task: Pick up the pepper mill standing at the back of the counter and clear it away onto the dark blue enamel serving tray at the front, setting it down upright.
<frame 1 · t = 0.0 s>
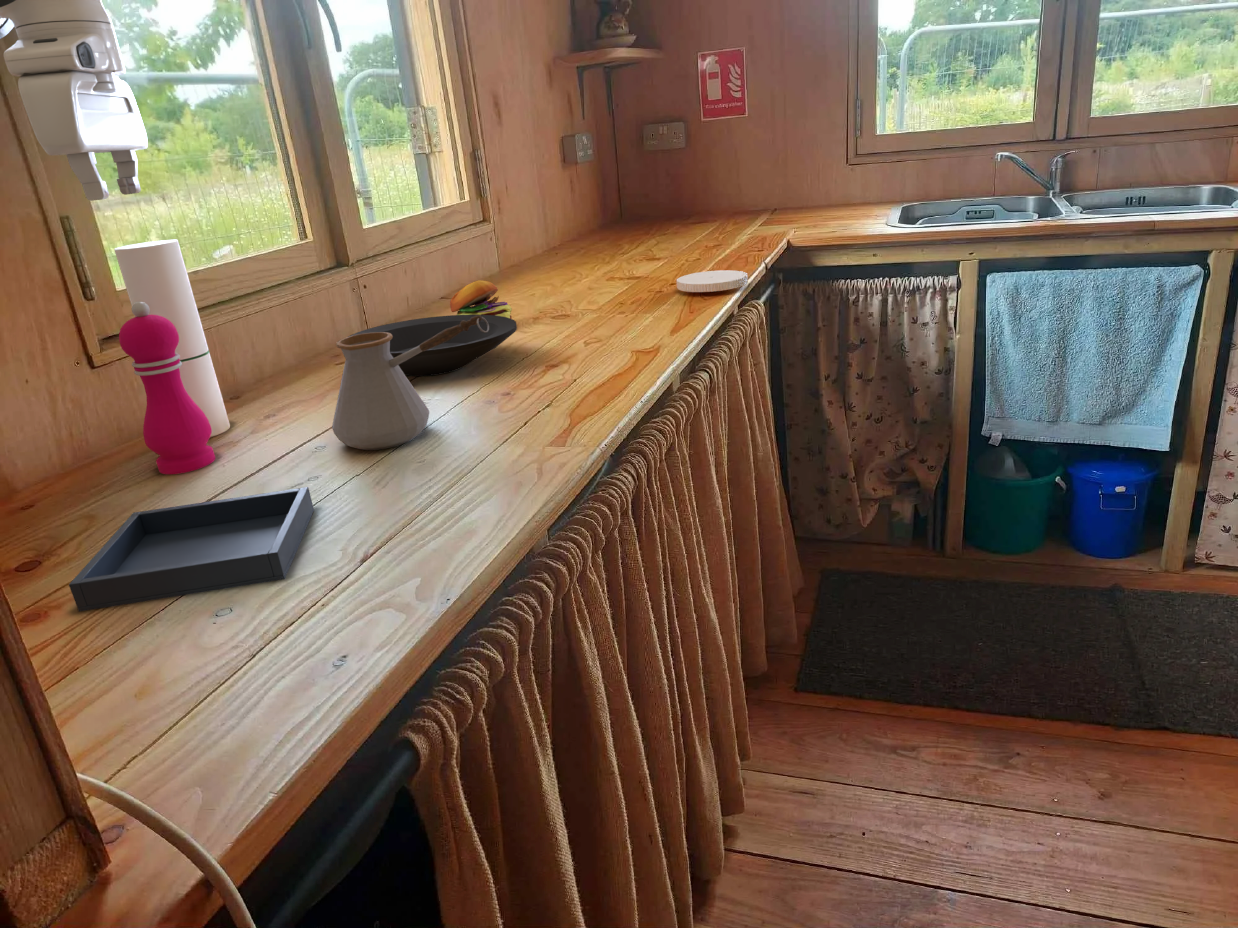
hand: (116, 197, 96), 31 cm above the counter, tool pointing down, fingers open, 8 cm apart
tray: (209, 560, 80), on the counter
pepper mill: (189, 469, 105), on the counter
black bowl: (435, 368, 138), on the counter
plastic lid: (712, 290, 174), on the counter
cylindrical container: (202, 436, 116), on the counter
coffee pot: (422, 443, 105), on the counter
cheeseburger: (484, 331, 160), on the counter
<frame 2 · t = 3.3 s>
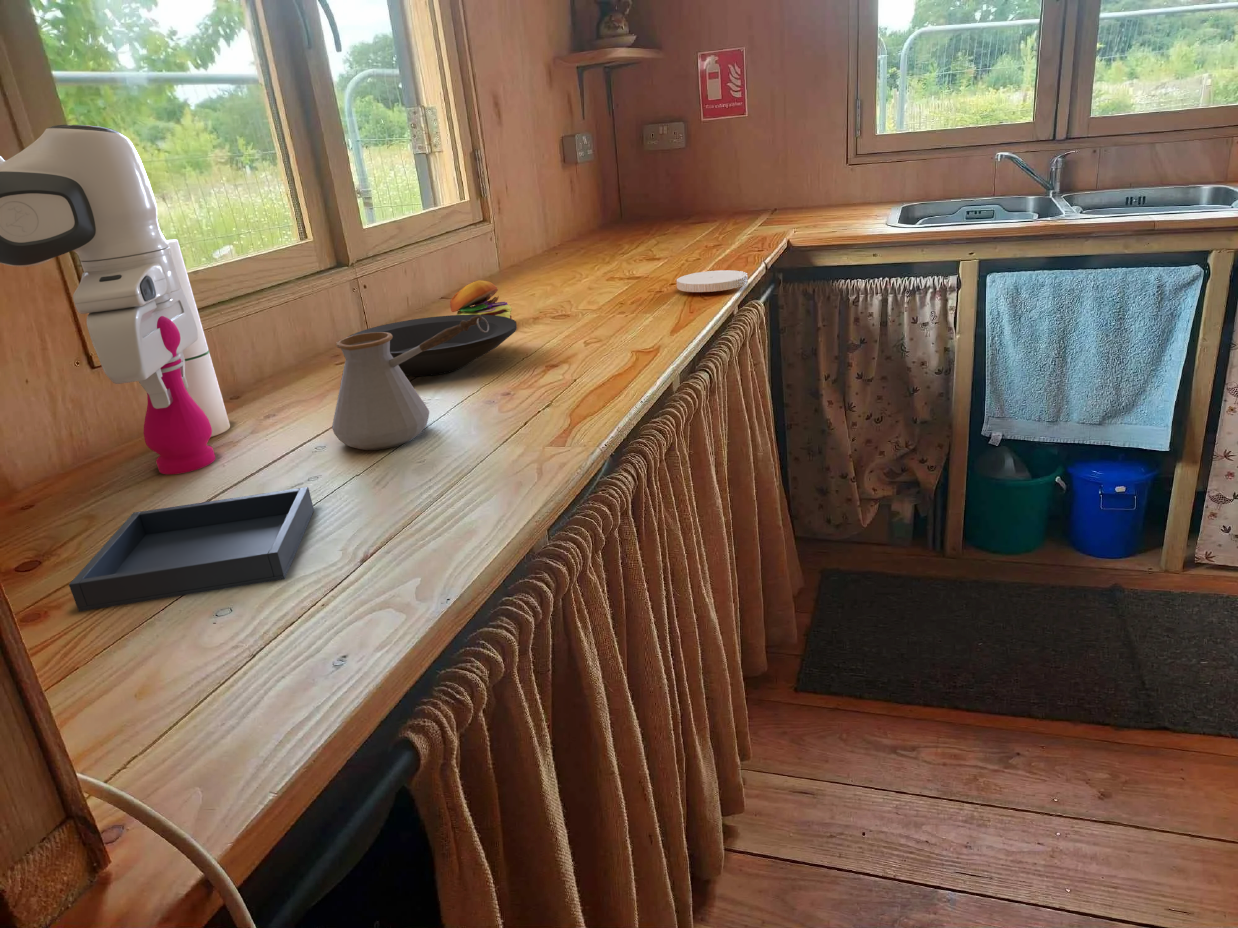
hand: (172, 399, 101), 9 cm above the counter, tool pointing down, fingers closed on pepper mill, 4 cm apart
pepper mill: (189, 469, 105), on the counter, touching arm, gripper
everything else where it was.
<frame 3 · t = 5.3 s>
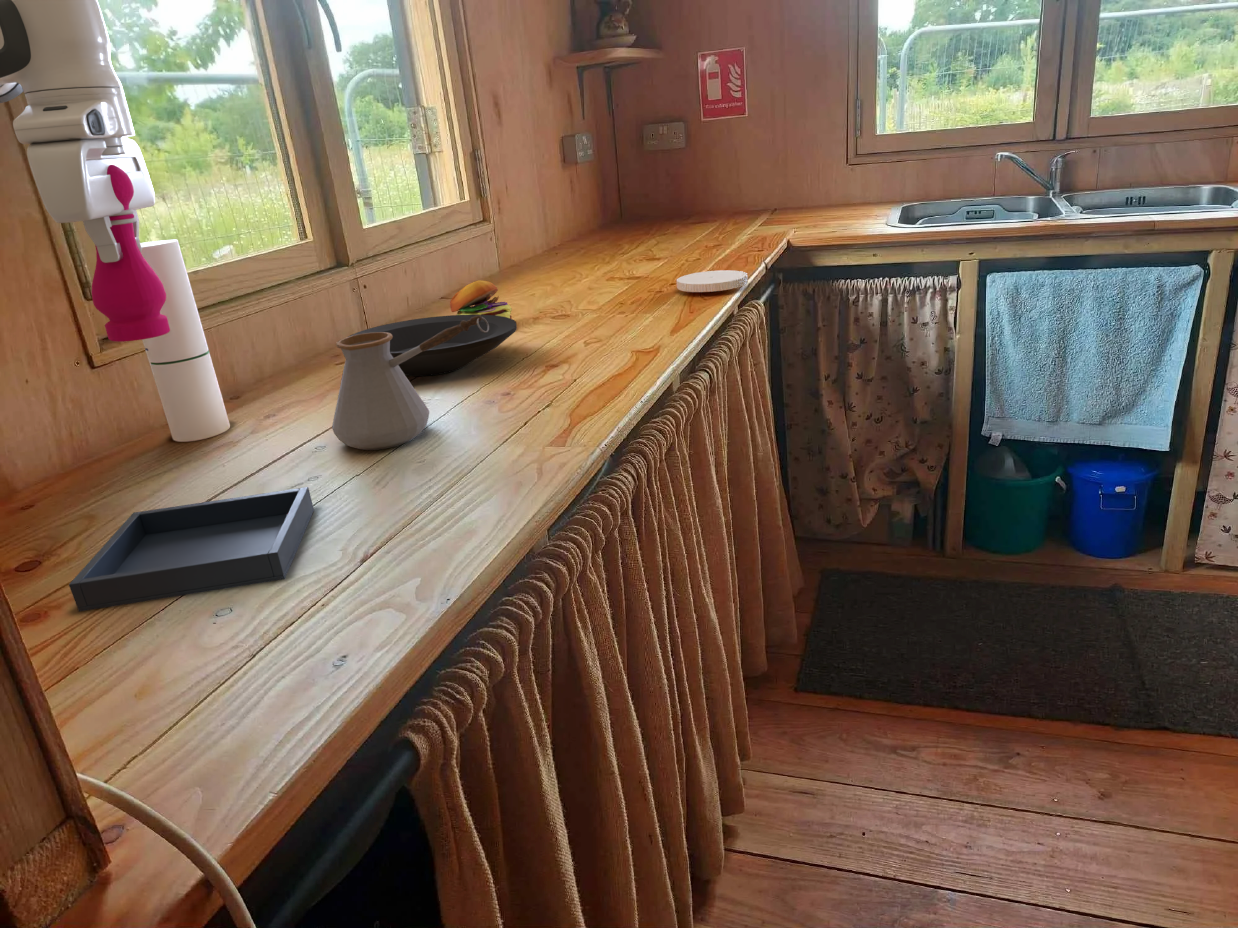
hand: (122, 258, 95), 25 cm above the counter, tool pointing down, fingers closed on pepper mill, 4 cm apart
pepper mill: (140, 337, 98), point 16 cm above the counter, touching arm, gripper
everything else where it was.
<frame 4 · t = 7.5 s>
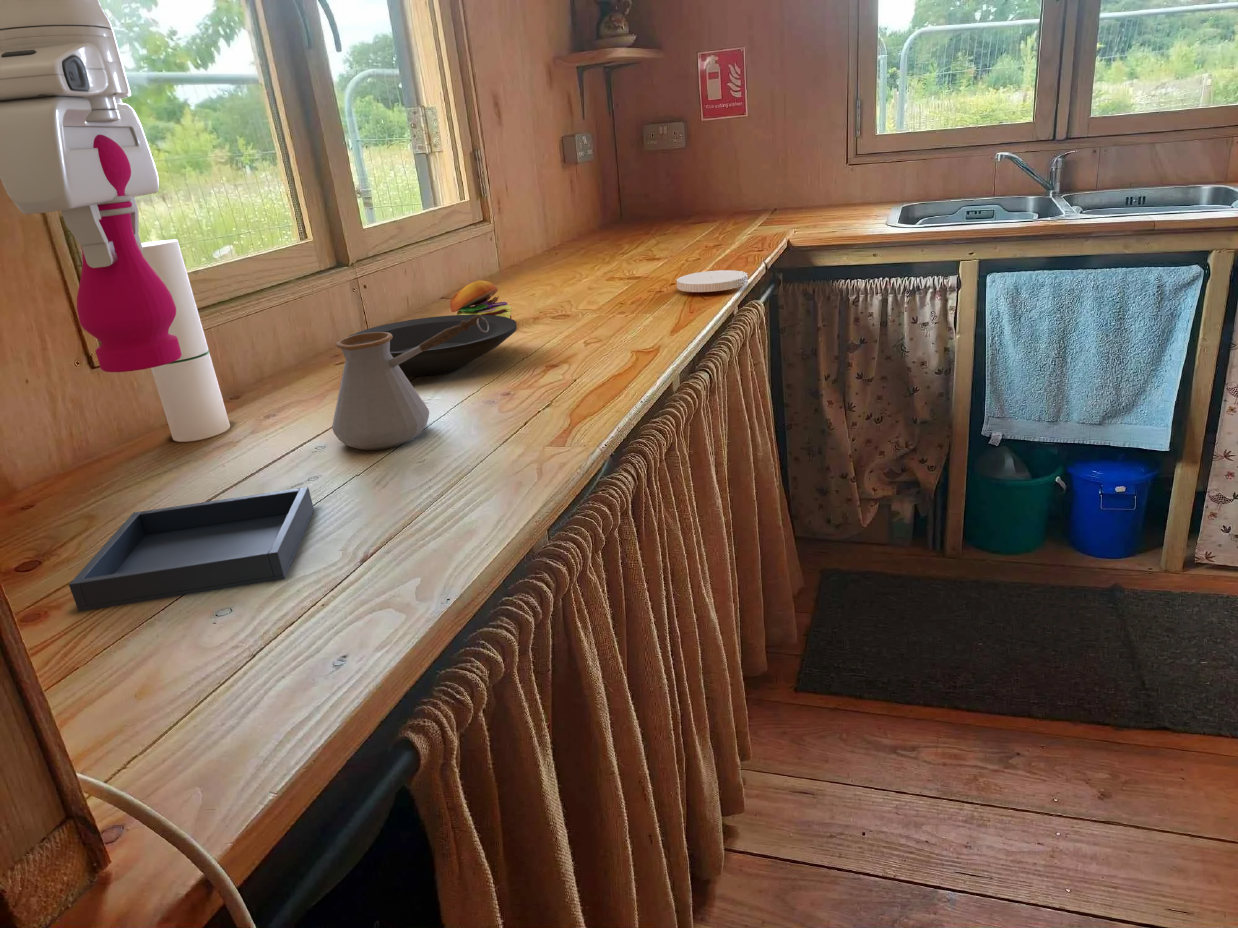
hand: (117, 261, 71), 27 cm above the counter, tool pointing down, fingers closed on pepper mill, 4 cm apart
pepper mill: (143, 365, 74), point 18 cm above the counter, touching arm, gripper
everything else where it was.
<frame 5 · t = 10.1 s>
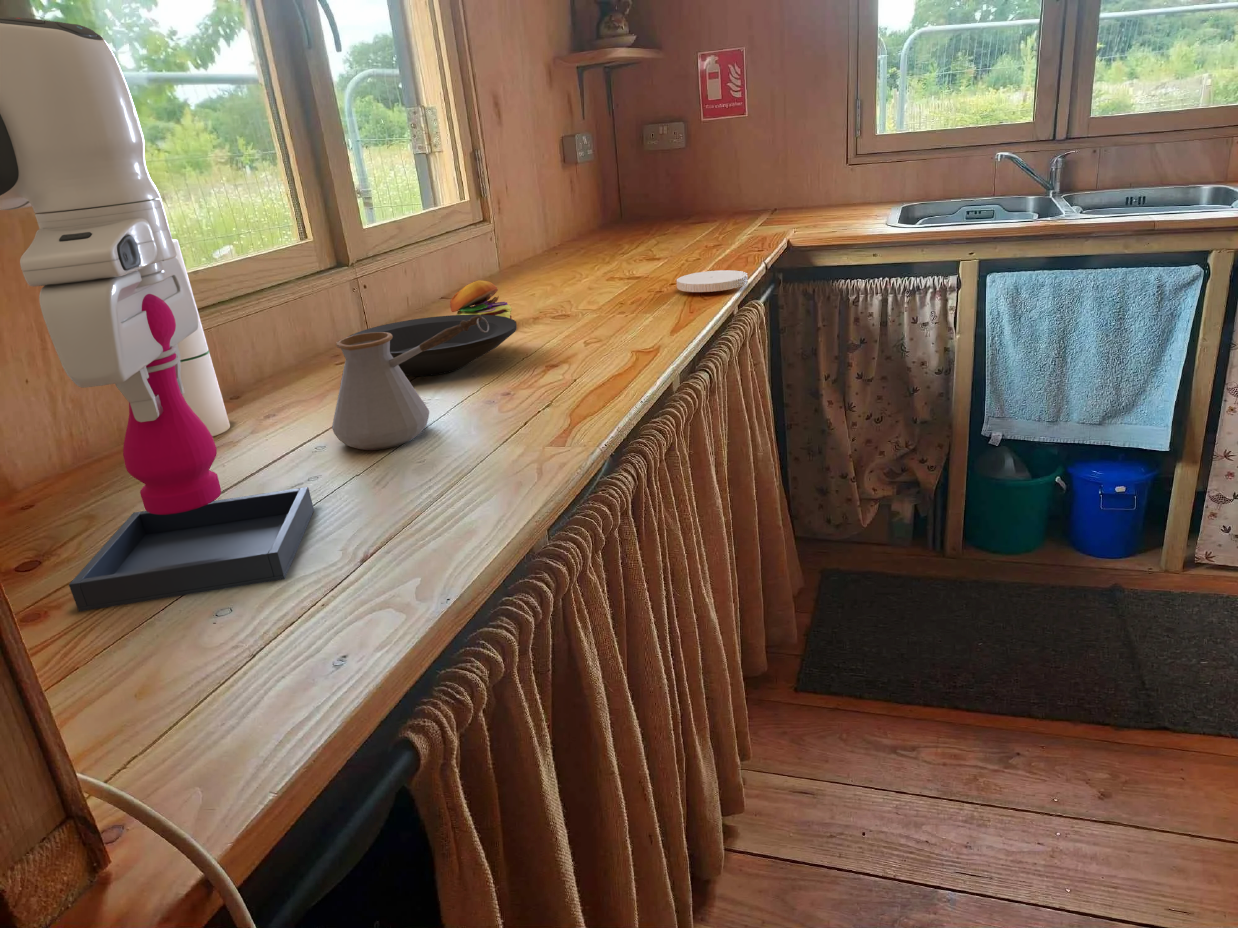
hand: (162, 408, 74), 15 cm above the counter, tool pointing down, fingers closed on pepper mill, 4 cm apart
pepper mill: (184, 502, 77), point 6 cm above the counter, touching arm, gripper
everything else where it was.
when the fingers open (9 cm above the counter, at t = 11.7 s): pepper mill stays where it is, resting on tray.
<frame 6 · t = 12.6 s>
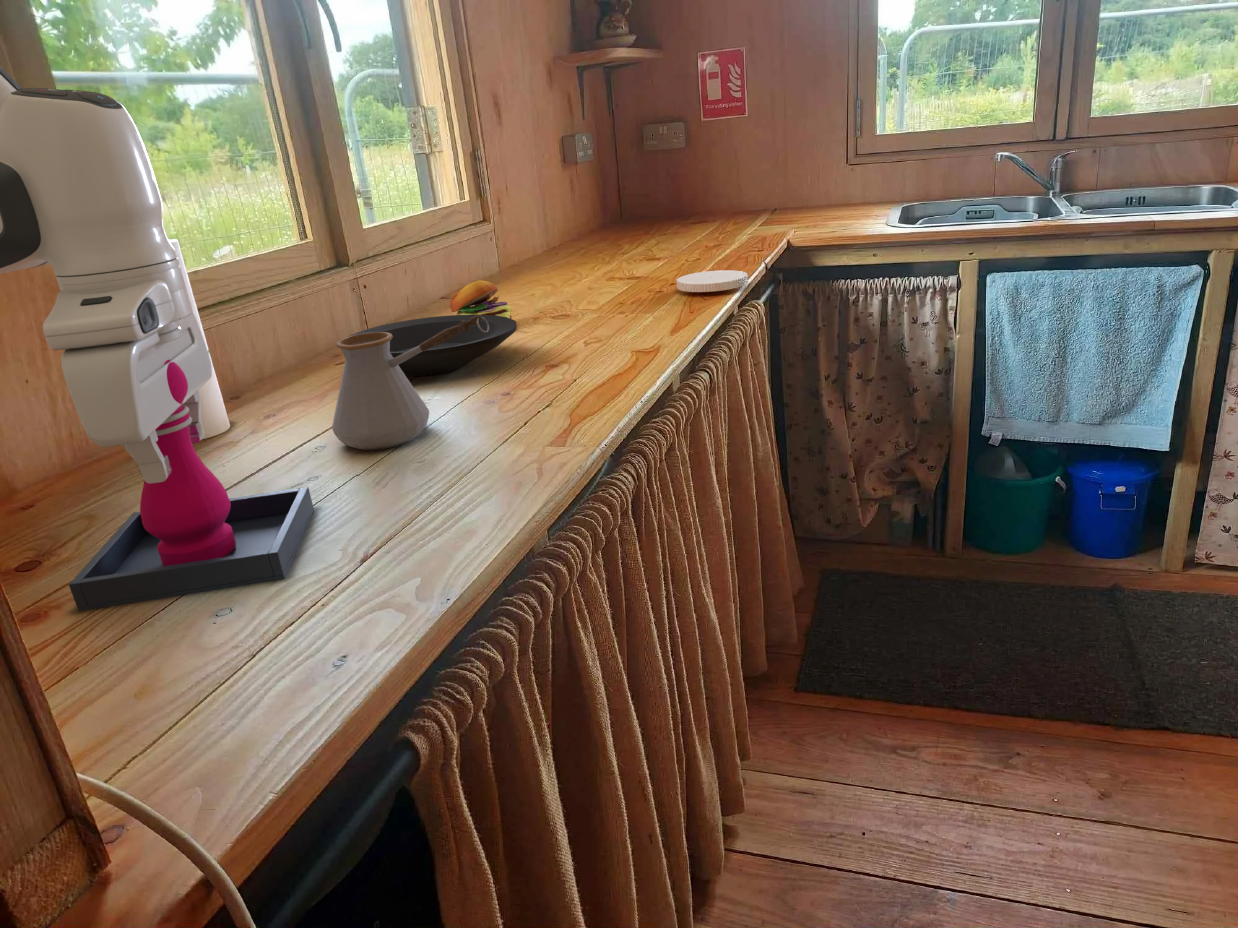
hand: (177, 459, 76), 10 cm above the counter, tool pointing down, fingers open, 8 cm apart
pepper mill: (200, 555, 79), point 1 cm above the counter, touching tray
everything else where it was.
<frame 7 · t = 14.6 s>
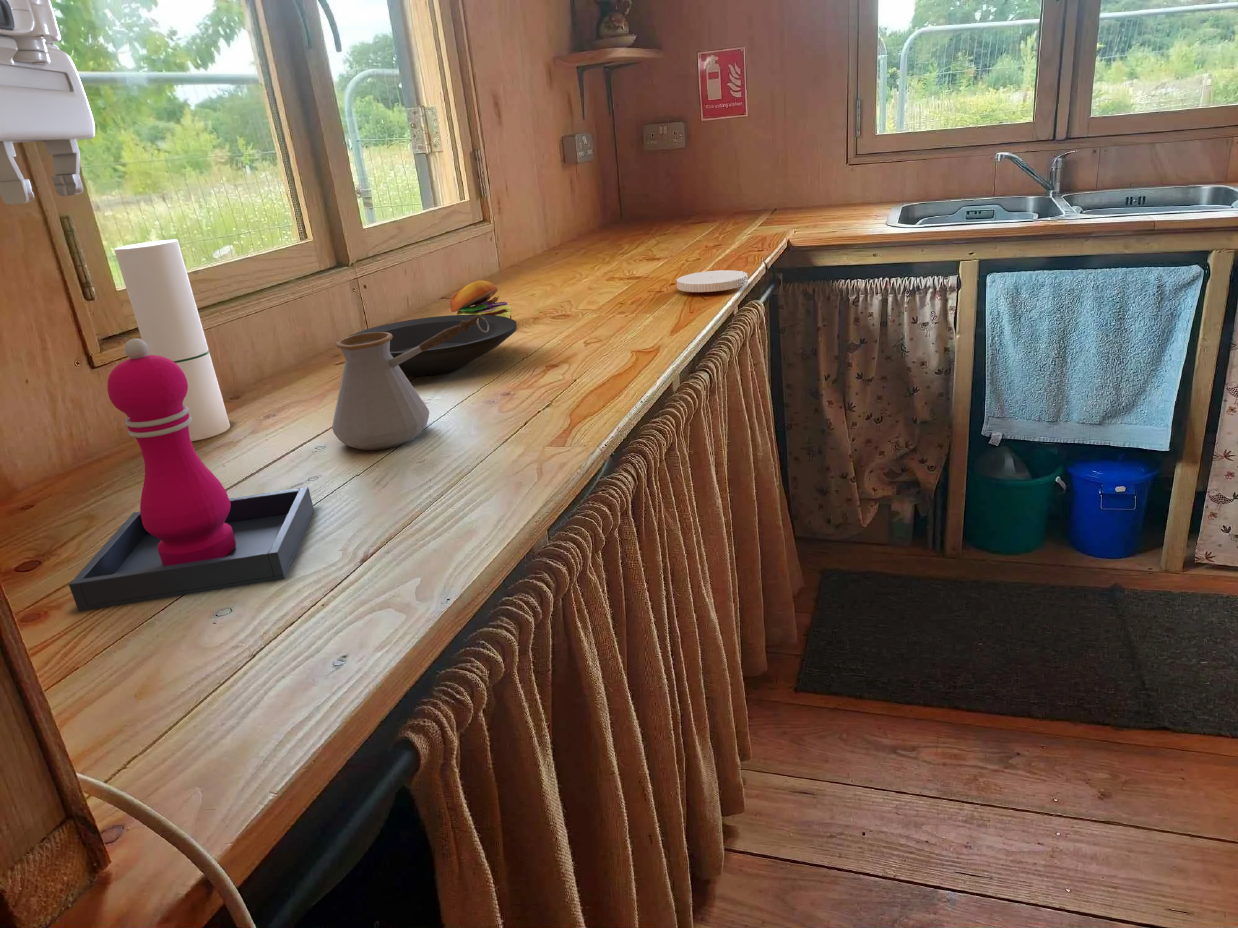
hand: (47, 199, 74), 32 cm above the counter, tool pointing down, fingers open, 8 cm apart
nothing on the counter moved.
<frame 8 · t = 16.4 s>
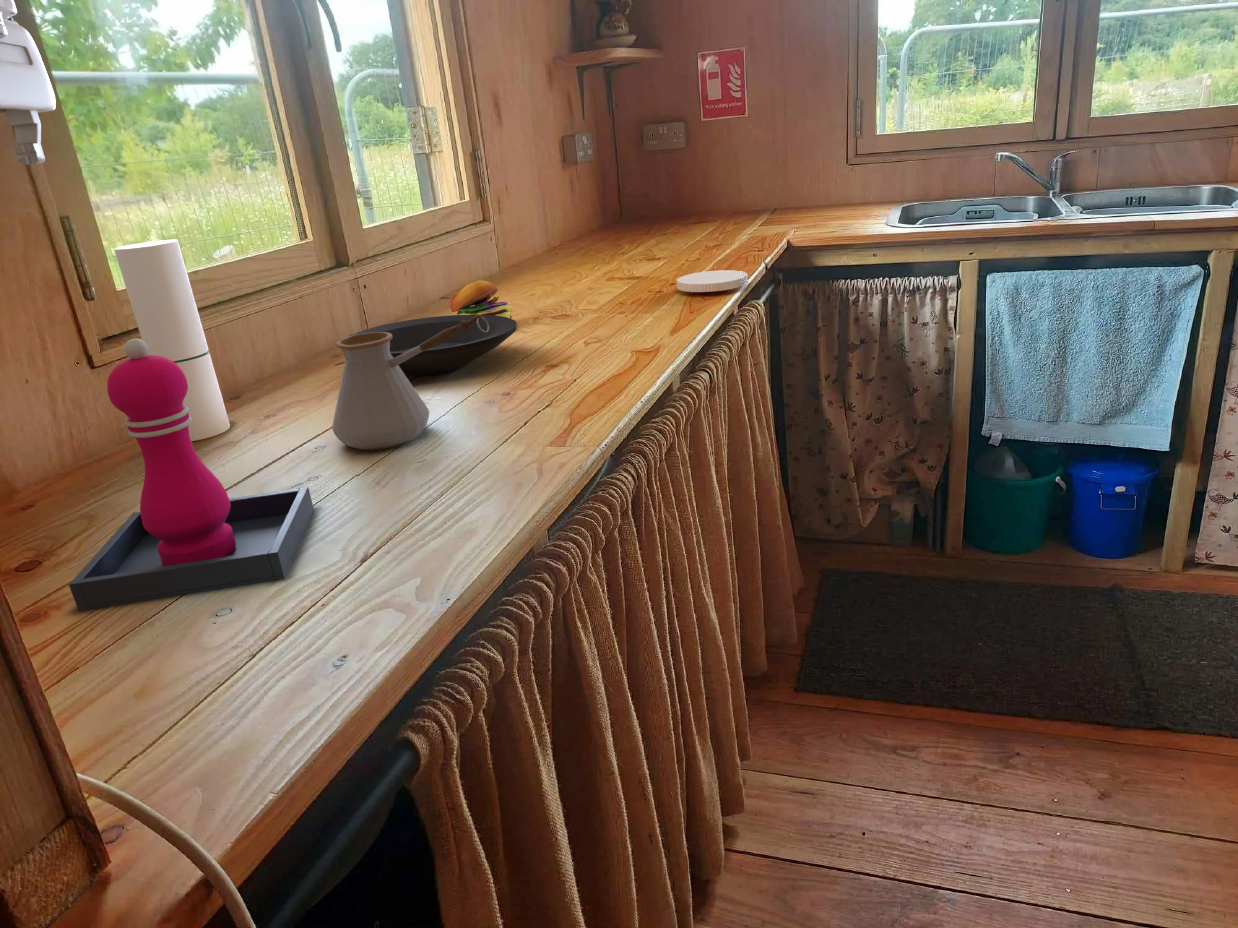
hand: (8, 166, 78), 35 cm above the counter, tool pointing down, fingers open, 8 cm apart
nothing on the counter moved.
at the end: pepper mill inside the target area in the tray (0.6 cm from its centre), point 0.6 cm above the tray's base; pepper mill tilted 0°; the gripper is holding nothing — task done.
